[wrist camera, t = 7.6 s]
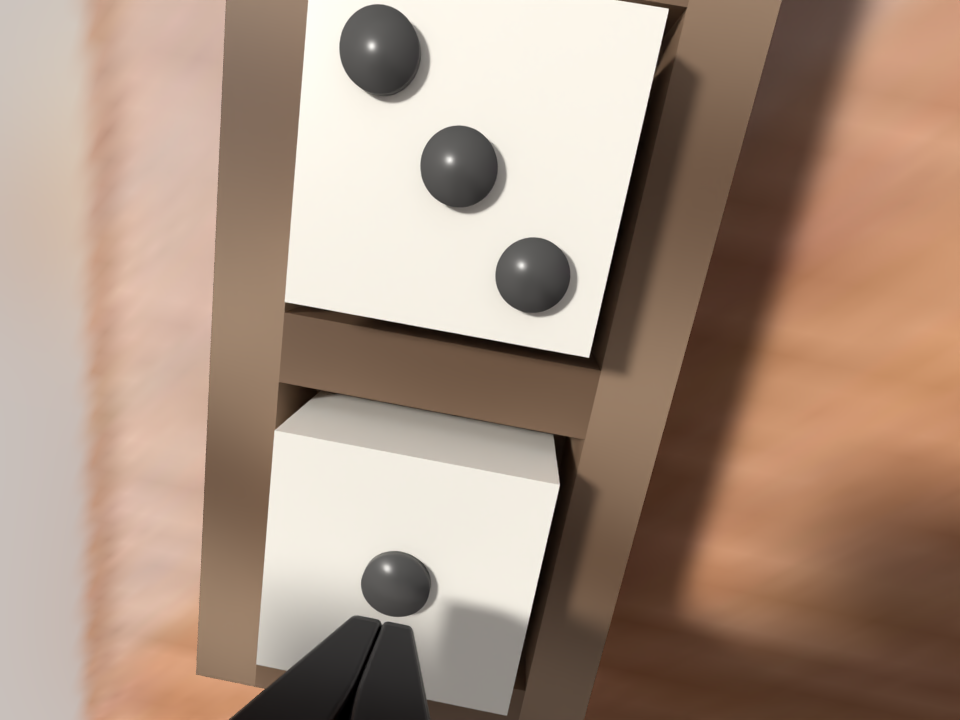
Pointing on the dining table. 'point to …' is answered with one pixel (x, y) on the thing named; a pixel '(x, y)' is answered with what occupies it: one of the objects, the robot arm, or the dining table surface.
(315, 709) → the robot arm
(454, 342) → the button board
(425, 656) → the tile one
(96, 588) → the dining table surface
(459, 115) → the tile three
